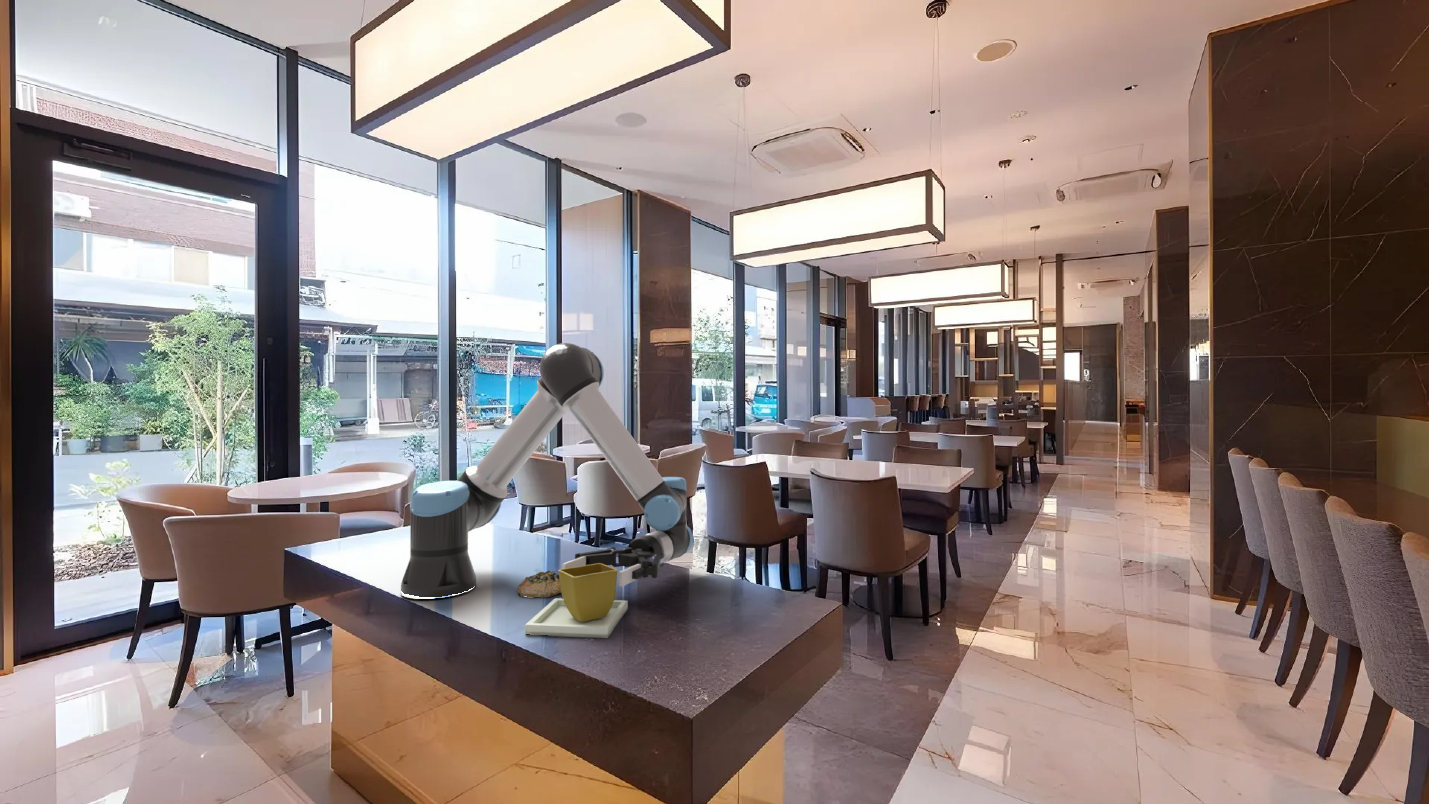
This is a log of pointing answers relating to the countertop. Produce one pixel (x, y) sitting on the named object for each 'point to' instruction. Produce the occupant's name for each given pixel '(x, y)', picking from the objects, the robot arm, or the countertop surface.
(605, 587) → the flower pot
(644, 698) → the countertop surface
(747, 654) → the countertop surface
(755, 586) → the countertop surface
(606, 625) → the tray
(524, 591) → the bread roll
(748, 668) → the countertop surface
